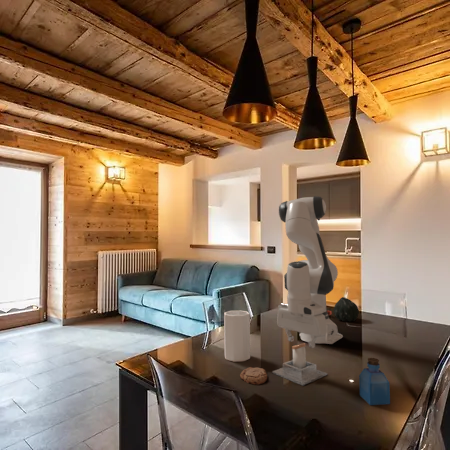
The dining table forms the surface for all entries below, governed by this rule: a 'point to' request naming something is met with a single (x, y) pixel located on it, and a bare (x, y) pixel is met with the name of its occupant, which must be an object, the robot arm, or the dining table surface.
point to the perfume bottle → (374, 384)
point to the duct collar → (299, 373)
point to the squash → (346, 310)
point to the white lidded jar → (299, 356)
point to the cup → (237, 335)
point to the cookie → (254, 375)
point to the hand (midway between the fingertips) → (301, 343)
